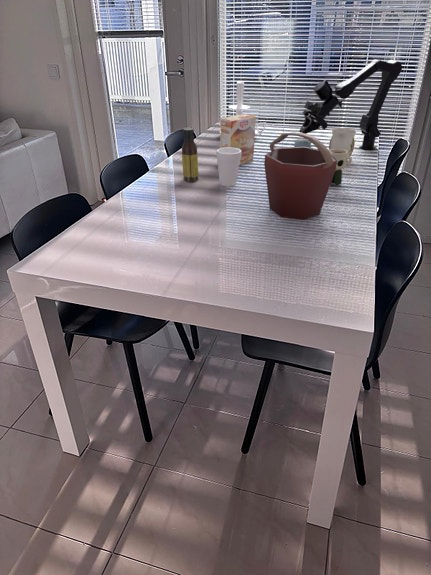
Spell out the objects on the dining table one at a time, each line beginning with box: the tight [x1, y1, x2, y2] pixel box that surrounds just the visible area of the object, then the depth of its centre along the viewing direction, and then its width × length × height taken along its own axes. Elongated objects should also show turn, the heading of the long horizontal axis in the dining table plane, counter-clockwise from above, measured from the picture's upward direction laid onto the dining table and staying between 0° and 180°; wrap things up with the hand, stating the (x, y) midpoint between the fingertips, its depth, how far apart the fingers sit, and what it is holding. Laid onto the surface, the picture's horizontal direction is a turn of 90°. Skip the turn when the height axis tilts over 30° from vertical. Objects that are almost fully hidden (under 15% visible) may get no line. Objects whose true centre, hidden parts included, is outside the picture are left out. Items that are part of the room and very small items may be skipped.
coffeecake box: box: [219, 113, 257, 166], centre depth 189 cm, size 15×7×20 cm, turn 131°
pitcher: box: [328, 127, 357, 162], centre depth 196 cm, size 11×18×14 cm, turn 160°
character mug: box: [328, 149, 353, 186], centre depth 168 cm, size 11×7×13 cm, turn 73°
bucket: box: [263, 132, 337, 221], centre depth 142 cm, size 24×22×25 cm
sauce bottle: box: [181, 127, 199, 183], centre depth 169 cm, size 6×6×20 cm
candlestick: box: [218, 80, 267, 137], centre depth 224 cm, size 21×25×28 cm
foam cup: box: [216, 147, 241, 188], centre depth 167 cm, size 10×9×13 cm
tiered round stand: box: [293, 138, 312, 148], centre depth 209 cm, size 13×13×6 cm
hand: (301, 132), depth 205 cm, fingers closed on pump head, 3 cm apart
